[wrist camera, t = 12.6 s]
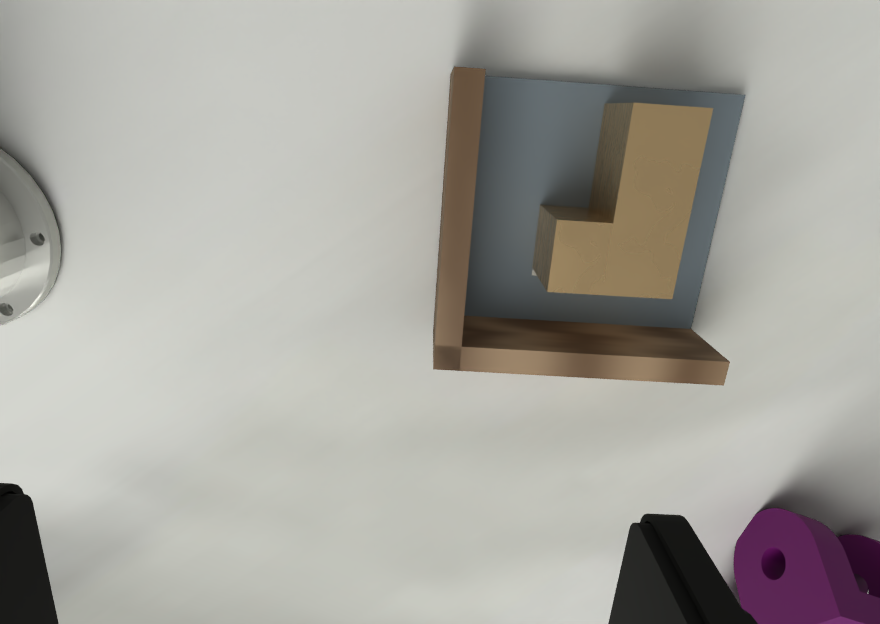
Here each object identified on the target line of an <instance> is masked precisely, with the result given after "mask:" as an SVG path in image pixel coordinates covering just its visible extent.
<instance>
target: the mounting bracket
mask: <svg viewBox="0 0 880 624" xmlns="http://www.w3.org/2000/svg"><path fill="white" fill-rule="evenodd" d="M734 575H735V580H736V585H737V589H738V594H739V598H740V603H741V608H742V609H744V610H745V611H747V612H748V613H750V614H751V615H752V617H753V618H754V619H755V620H756V622H757V623H758V624H880V542H879V541H876V540H873V539H870V538H867V537H864V536H861V535H843V536H839V537H836V535H835V534H834V533H833V532H832V531H831V530H830V529H829V528H828V527H827V526H825V525H824V524H822V523H821V522H819V521H817V520H814V519H811V518H808V517H805V516H802V515H800V514H797V513H794V512H791V511H788V510H785V509H780V508H770V509H766V510H763V511H761V512H759V513H757V514H756V515H755V516H754V517H753V519H752V520H751V522H750V523H749V524H748V526H747V527H746V529H745V530H744V532H743V533H742V534H741V536H740V537H739V539H738V540H737V543H736V547H735V553H734ZM868 590H869V594H867V592H868Z"/></svg>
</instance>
